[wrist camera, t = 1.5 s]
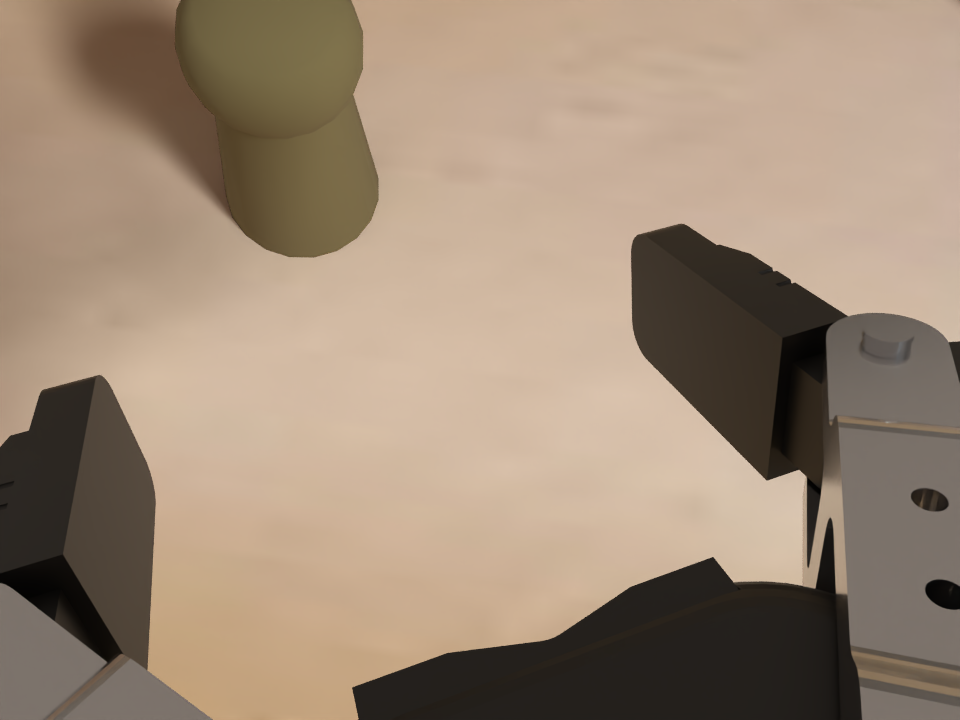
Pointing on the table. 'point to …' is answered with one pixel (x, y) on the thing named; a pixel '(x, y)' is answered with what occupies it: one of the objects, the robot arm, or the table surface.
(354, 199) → the olive knob
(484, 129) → the table surface
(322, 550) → the table surface
